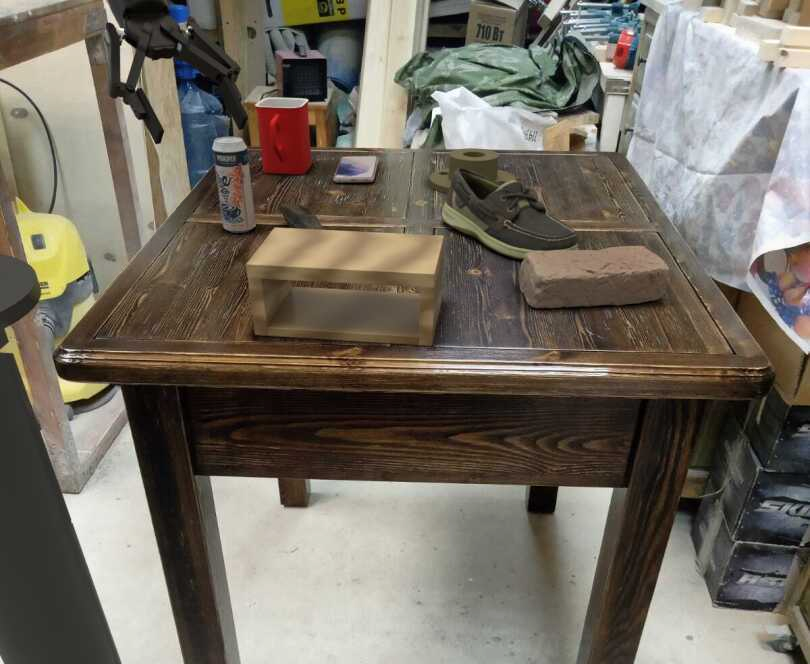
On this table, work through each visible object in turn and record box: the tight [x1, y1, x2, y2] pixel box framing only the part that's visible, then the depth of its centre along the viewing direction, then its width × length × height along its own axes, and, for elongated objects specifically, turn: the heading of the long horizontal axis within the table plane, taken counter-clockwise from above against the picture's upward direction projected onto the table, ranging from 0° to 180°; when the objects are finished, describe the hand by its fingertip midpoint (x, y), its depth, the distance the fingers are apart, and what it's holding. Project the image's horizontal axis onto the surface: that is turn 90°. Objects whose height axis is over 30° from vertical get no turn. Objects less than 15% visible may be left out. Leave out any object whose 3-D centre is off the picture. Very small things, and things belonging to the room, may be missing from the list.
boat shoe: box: [440, 167, 579, 261], centre depth 107 cm, size 10×25×8 cm, turn 45°
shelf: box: [245, 227, 445, 347], centre depth 86 cm, size 20×12×8 cm, turn 83°
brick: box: [518, 245, 670, 309], centre depth 93 cm, size 17×8×5 cm, turn 97°
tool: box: [277, 202, 327, 230], centre depth 108 cm, size 21×8×3 cm, turn 29°
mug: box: [254, 96, 313, 176], centre depth 134 cm, size 12×8×11 cm
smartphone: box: [333, 155, 379, 184], centre depth 137 cm, size 7×1×15 cm
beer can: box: [211, 136, 257, 234], centre depth 109 cm, size 5×5×12 cm
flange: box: [428, 147, 517, 195], centre depth 131 cm, size 5×15×15 cm
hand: (203, 130), depth 109 cm, fingers open, 13 cm apart
